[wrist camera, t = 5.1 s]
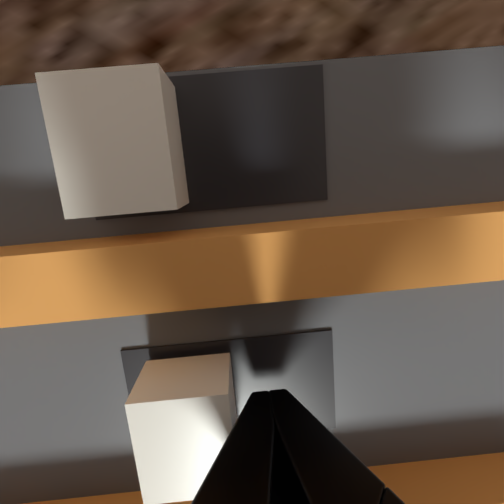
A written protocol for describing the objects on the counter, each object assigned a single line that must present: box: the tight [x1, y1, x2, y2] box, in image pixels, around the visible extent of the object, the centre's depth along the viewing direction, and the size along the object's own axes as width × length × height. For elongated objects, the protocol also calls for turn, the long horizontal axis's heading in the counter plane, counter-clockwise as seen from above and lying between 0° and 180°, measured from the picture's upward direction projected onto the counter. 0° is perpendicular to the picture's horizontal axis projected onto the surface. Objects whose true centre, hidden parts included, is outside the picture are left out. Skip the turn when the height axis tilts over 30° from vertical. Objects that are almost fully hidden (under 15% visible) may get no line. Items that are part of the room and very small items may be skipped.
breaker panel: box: [0, 46, 504, 504], centre depth 9 cm, size 20×15×5 cm
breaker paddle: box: [125, 353, 237, 504], centre depth 8 cm, size 2×2×2 cm
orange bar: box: [0, 201, 504, 328], centre depth 7 cm, size 16×1×1 cm, turn 95°
